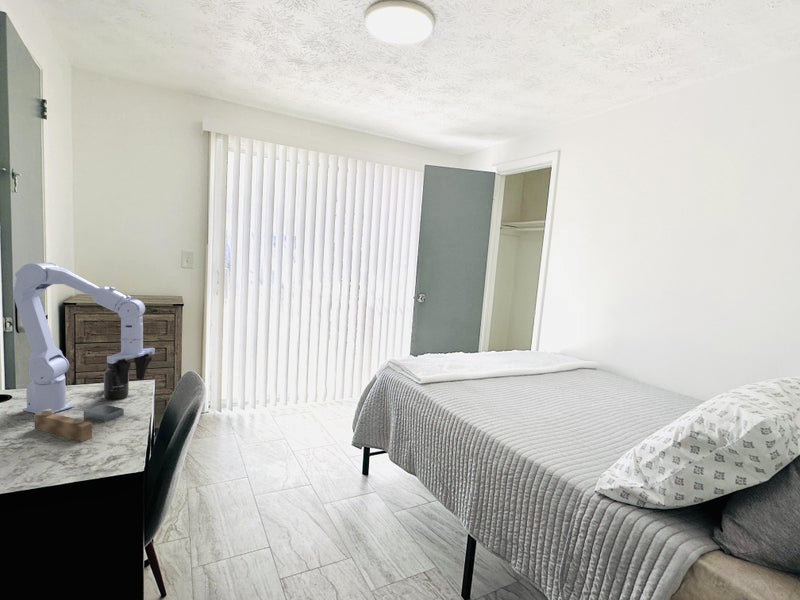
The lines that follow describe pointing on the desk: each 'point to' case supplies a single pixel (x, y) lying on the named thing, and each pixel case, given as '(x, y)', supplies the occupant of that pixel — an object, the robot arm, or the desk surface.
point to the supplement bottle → (114, 385)
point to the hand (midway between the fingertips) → (132, 380)
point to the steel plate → (103, 413)
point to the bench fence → (63, 425)
